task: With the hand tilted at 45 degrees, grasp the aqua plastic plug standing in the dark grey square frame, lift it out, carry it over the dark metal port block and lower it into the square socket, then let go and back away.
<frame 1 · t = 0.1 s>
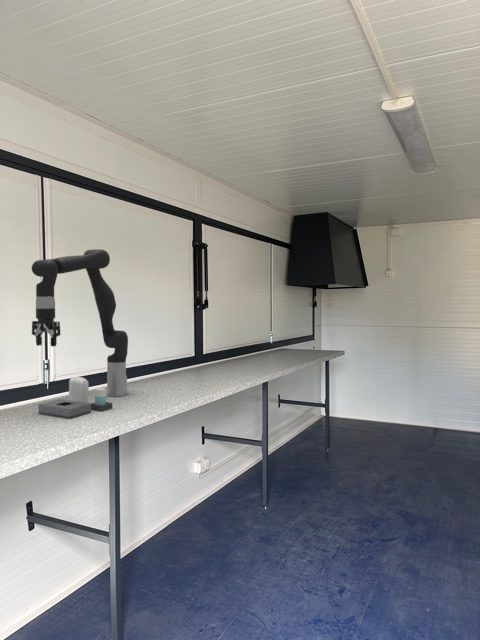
hand: (46, 345, 193), 29 cm above the table, tool pointing down, fingers open, 8 cm apart
port block: (65, 413, 195), on the table
plug: (100, 399, 204), in the dark grey square frame
dark grey square frame: (100, 409, 204), on the table
photo printer: (78, 403, 215), on the table
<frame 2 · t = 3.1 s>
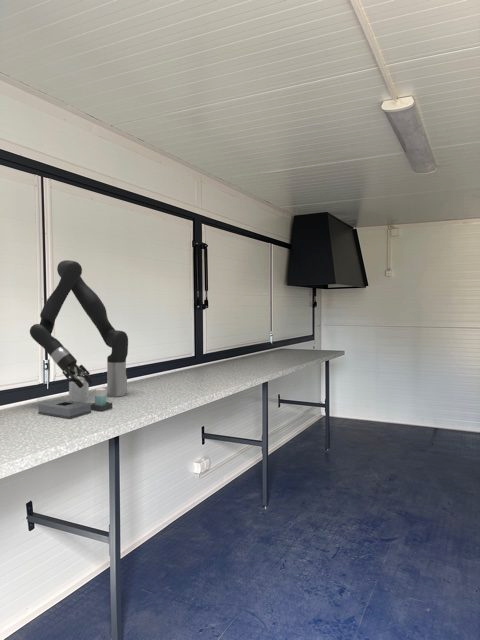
hand: (87, 385, 205), 10 cm above the table, tool tilted 45°, fingers open, 8 cm apart
nothing on the table moved.
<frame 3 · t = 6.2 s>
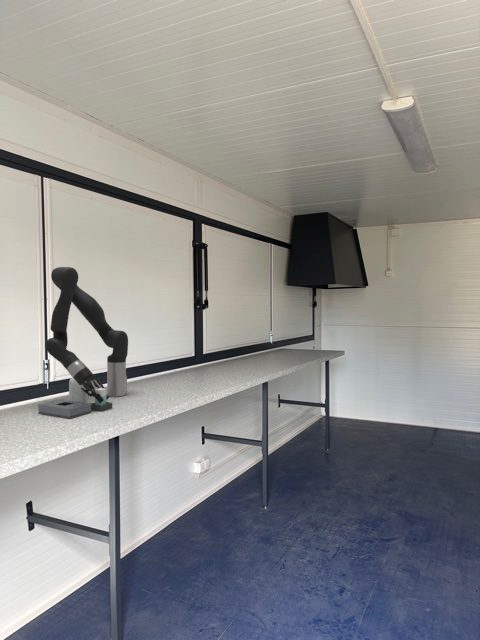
hand: (104, 400, 203), 4 cm above the table, tool tilted 45°, fingers closed on plug, 4 cm apart
plug: (100, 399, 204), in the dark grey square frame, touching gripper
everything else where it was.
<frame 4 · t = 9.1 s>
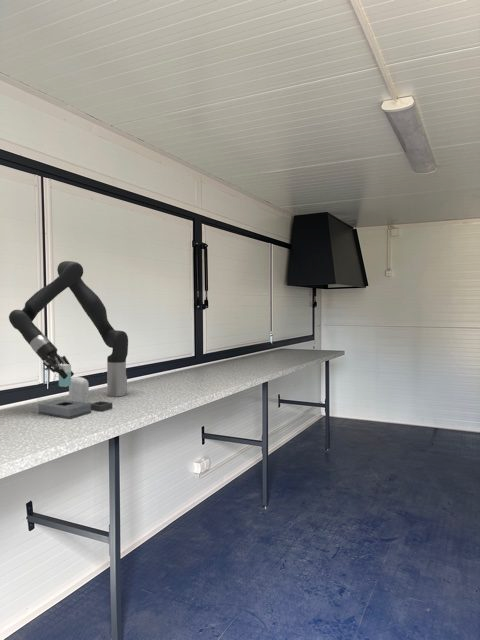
hand: (69, 376, 194), 16 cm above the table, tool tilted 45°, fingers closed on plug, 4 cm apart
plug: (64, 375, 195), point 16 cm above the table, touching gripper
everything else where it was.
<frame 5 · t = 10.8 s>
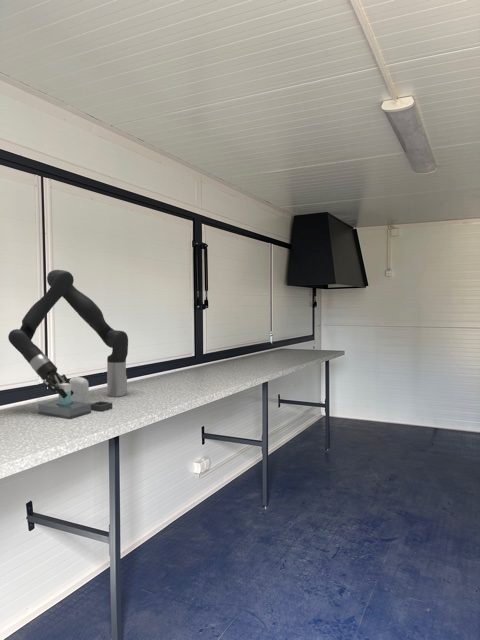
hand: (68, 395, 195), 8 cm above the table, tool tilted 45°, fingers closed on plug, 4 cm apart
plug: (64, 394, 195), point 8 cm above the table, touching gripper
everything else where it was.
when the fingers open (6 cm above the table, at t = 12.1 s): plug stays where it is, resting on port block.
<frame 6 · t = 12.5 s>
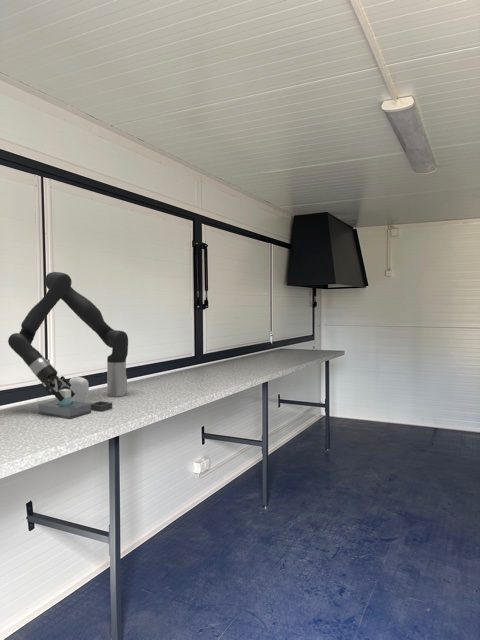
hand: (67, 398, 195), 7 cm above the table, tool tilted 45°, fingers open, 8 cm apart
plug: (64, 400, 195), in the port block, point 6 cm above the table
everything else where it was.
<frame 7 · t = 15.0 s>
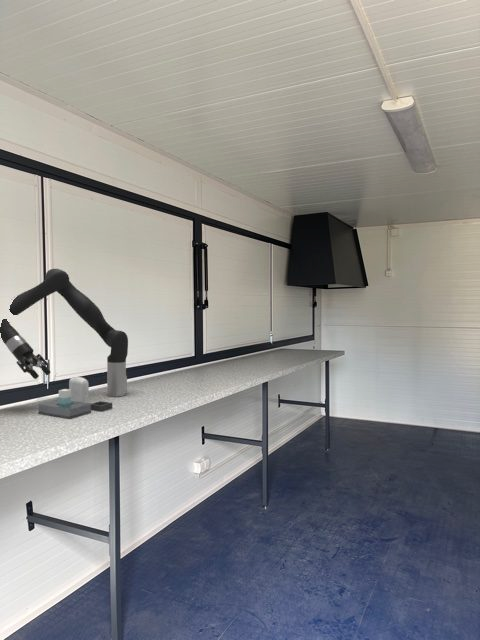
hand: (43, 375, 198), 15 cm above the table, tool tilted 45°, fingers open, 8 cm apart
nothing on the table moved.
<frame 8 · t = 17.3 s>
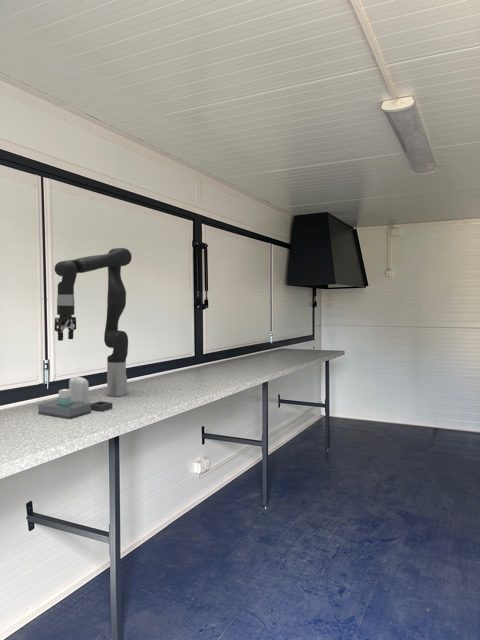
hand: (65, 339, 210), 30 cm above the table, tool pointing down, fingers open, 8 cm apart
nothing on the table moved.
at the end: plug 0.0 cm off-centre on the port block, point 5.5 cm above the port block's base; plug tilted 0°; the gripper is holding nothing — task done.
